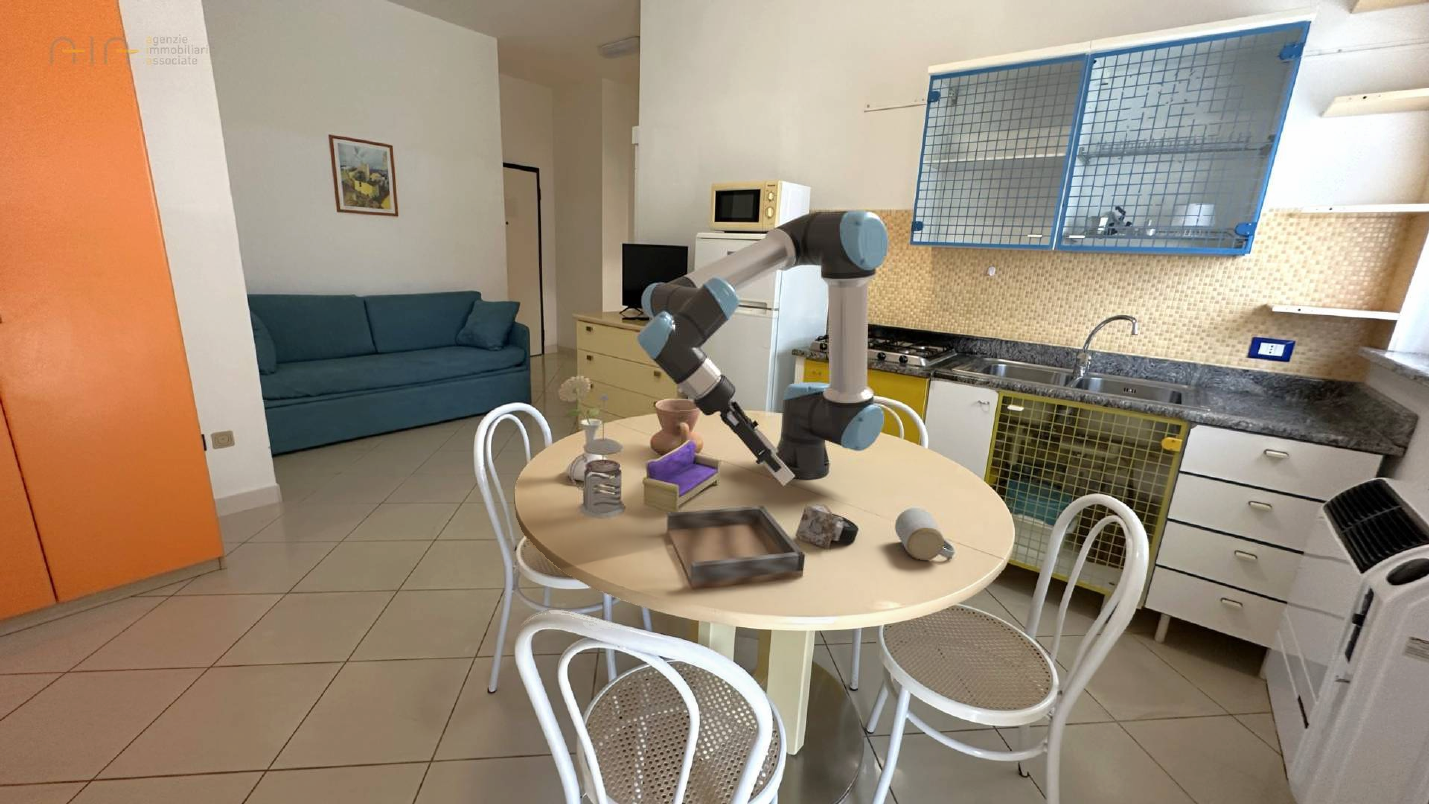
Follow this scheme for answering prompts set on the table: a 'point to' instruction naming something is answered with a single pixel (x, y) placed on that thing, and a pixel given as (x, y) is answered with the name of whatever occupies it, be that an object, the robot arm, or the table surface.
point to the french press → (593, 499)
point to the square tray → (732, 547)
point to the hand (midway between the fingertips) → (780, 466)
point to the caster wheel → (825, 527)
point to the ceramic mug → (921, 535)
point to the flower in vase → (571, 392)
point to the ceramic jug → (676, 425)
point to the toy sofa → (678, 477)
